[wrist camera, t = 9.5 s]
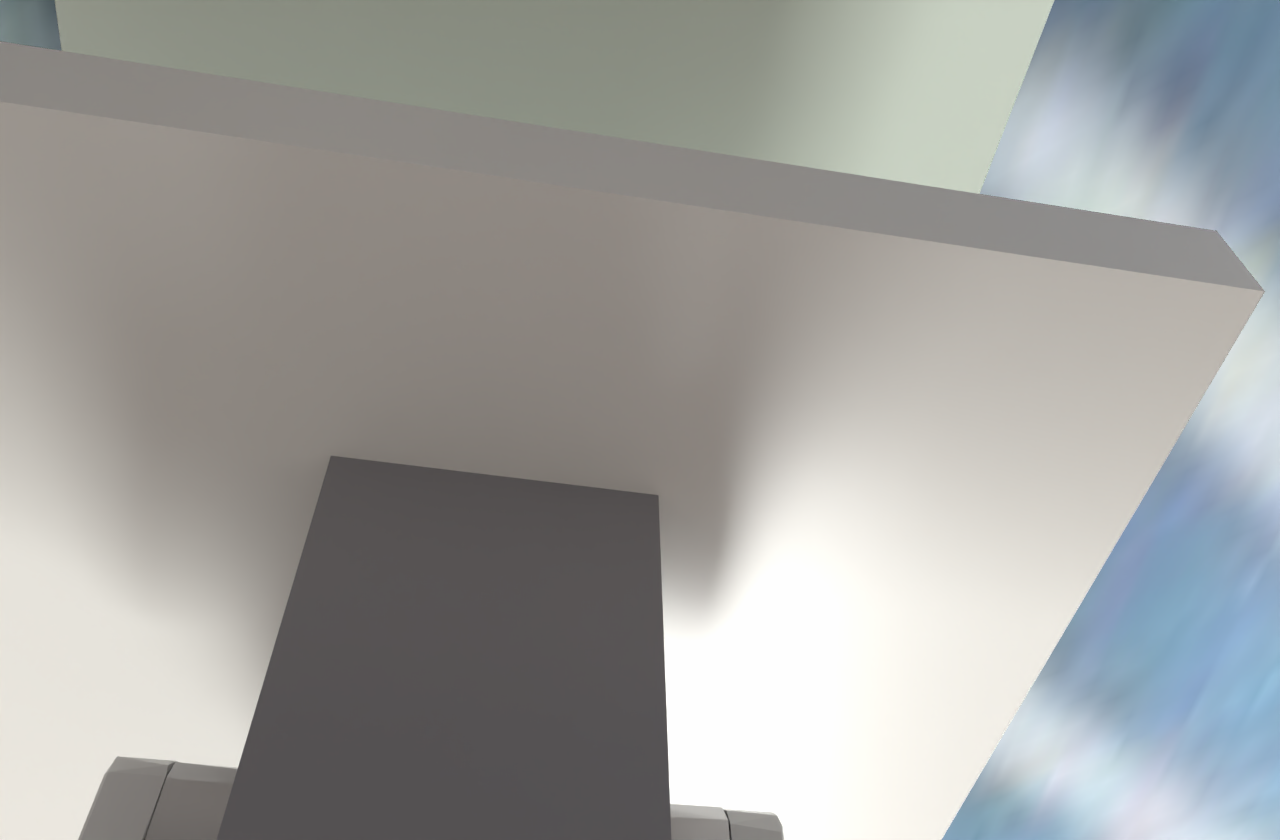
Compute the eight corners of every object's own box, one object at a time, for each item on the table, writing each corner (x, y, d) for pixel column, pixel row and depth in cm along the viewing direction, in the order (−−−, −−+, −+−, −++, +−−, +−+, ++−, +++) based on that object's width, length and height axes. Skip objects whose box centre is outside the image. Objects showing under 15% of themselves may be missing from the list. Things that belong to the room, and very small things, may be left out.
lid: (-137, -56, 10) (-1163, 569, 4) (1155, 156, 12) (1704, 843, 6) (49, 765, 18) (-237, 1410, 12) (829, 834, 19) (922, 1441, 13)
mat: (20, -341, 14) (7, -337, 14) (1096, -139, 16) (1105, -132, 16) (132, 494, 23) (126, 508, 23) (824, 571, 25) (827, 585, 24)
